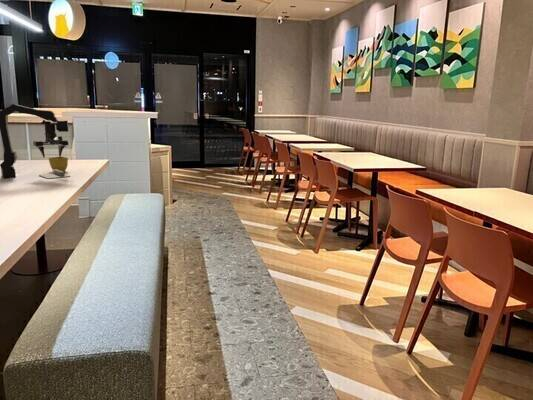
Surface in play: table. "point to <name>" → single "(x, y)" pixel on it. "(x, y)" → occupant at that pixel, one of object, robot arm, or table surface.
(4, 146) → the robot arm
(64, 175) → the block
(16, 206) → the table surface
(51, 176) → the slate board
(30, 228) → the table surface
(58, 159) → the flower pot
